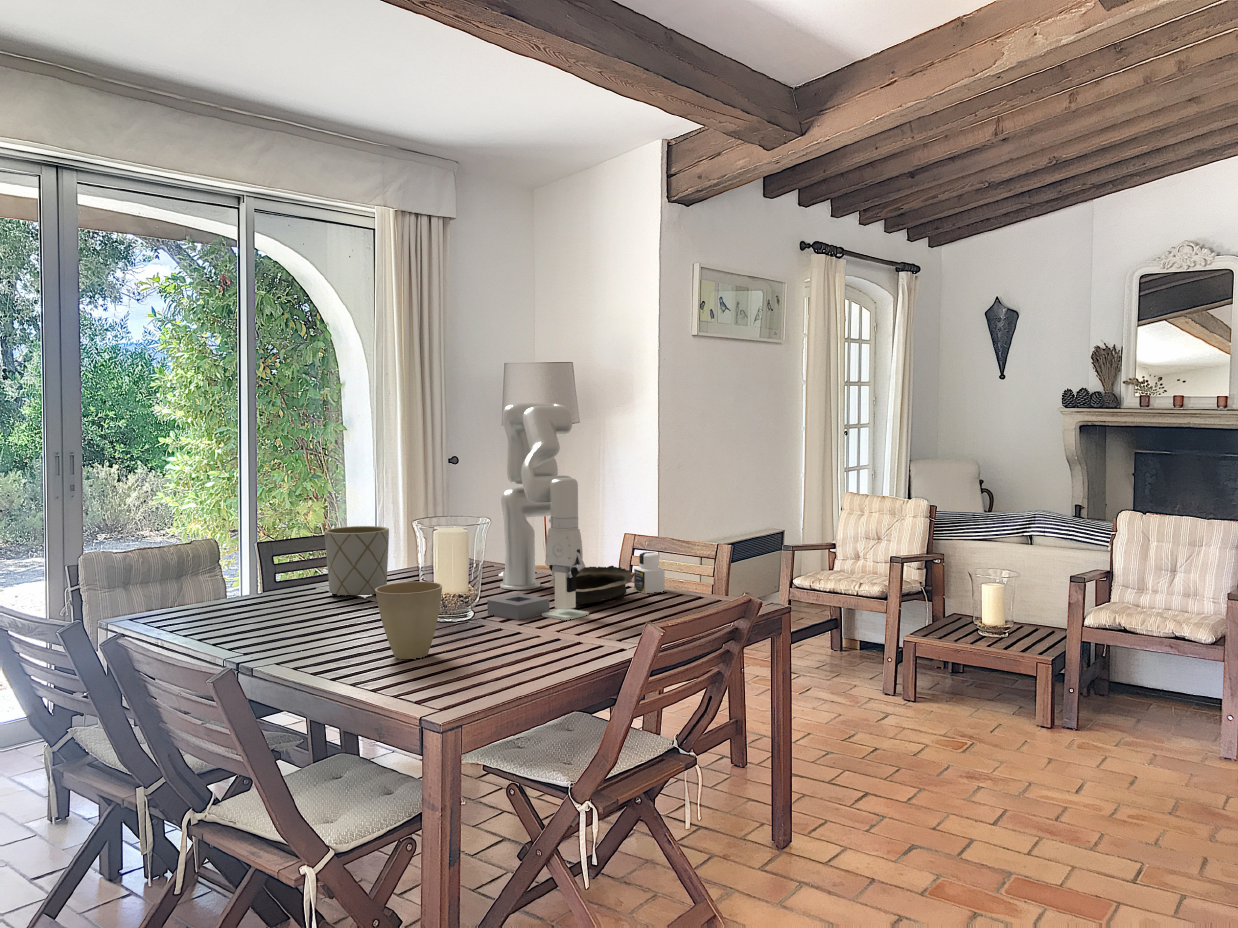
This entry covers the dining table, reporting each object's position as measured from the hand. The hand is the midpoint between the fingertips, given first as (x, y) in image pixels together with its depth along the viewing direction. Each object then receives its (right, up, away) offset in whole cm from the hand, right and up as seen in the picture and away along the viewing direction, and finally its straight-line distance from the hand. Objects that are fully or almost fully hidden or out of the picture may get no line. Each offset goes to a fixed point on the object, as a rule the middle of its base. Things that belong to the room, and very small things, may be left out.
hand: (565, 589), depth 263 cm
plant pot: (-33, -10, -42) cm, 55 cm away
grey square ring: (-13, -7, +3) cm, 15 cm away
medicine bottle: (+24, -5, +35) cm, 43 cm away
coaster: (0, -7, 0) cm, 7 cm away
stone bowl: (+7, -6, +19) cm, 22 cm away
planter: (-66, -6, +34) cm, 74 cm away
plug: (0, -5, 0) cm, 5 cm away
